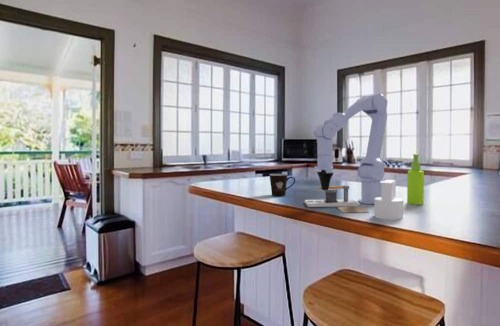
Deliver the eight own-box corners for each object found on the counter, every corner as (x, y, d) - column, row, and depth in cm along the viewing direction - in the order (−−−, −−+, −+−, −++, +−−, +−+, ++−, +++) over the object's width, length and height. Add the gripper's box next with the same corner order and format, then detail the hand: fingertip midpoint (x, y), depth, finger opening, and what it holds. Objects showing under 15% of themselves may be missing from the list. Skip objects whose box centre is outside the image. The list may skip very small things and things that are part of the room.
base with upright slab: (401, 221, 107) (401, 183, 106) (371, 217, 112) (371, 182, 111) (404, 215, 115) (405, 180, 114) (377, 212, 119) (377, 179, 119)
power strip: (352, 202, 141) (352, 187, 140) (359, 206, 132) (359, 190, 131) (304, 202, 141) (304, 188, 140) (308, 206, 132) (308, 191, 131)
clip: (348, 188, 137) (348, 185, 137) (350, 188, 134) (350, 186, 134) (318, 188, 137) (318, 186, 137) (319, 189, 135) (319, 186, 135)
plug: (335, 203, 139) (335, 189, 138) (338, 205, 134) (338, 190, 133) (323, 203, 139) (323, 189, 138) (326, 205, 134) (326, 191, 133)
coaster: (360, 207, 129) (360, 206, 129) (368, 212, 120) (368, 211, 120) (336, 208, 129) (336, 207, 129) (343, 213, 120) (343, 211, 120)
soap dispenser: (422, 202, 138) (423, 153, 137) (423, 205, 132) (424, 154, 130) (407, 201, 140) (407, 153, 139) (407, 204, 134) (407, 154, 133)
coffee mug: (267, 196, 159) (266, 175, 158) (272, 193, 167) (272, 173, 166) (291, 197, 154) (290, 175, 154) (295, 194, 162) (295, 174, 162)
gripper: (311, 154, 137) (311, 187, 138) (318, 156, 123) (318, 192, 124) (328, 154, 137) (328, 187, 138) (337, 155, 123) (337, 192, 124)
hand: (325, 189), depth 131 cm, fingers closed
